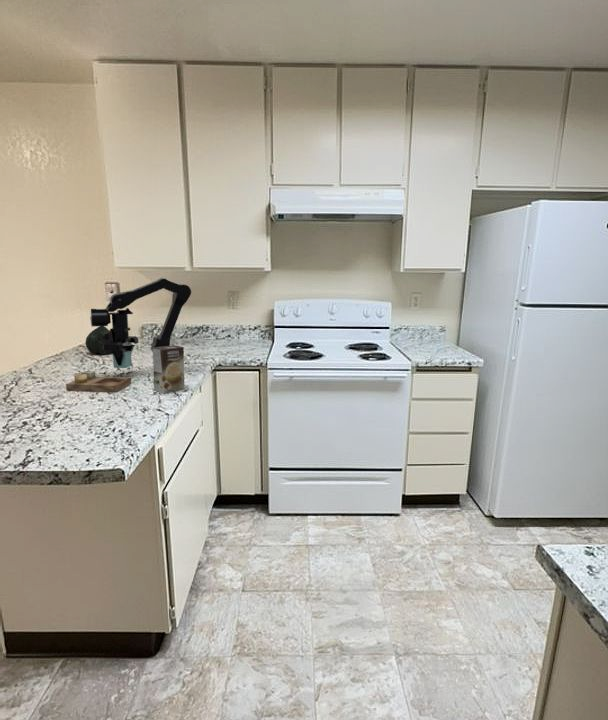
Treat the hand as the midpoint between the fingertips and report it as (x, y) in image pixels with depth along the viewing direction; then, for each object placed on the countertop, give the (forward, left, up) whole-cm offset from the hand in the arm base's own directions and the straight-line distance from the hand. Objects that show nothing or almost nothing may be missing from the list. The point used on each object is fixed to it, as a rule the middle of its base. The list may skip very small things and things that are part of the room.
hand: (122, 363), depth 164 cm
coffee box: (-24, +15, -6) cm, 29 cm away
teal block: (0, 0, -1) cm, 1 cm away
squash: (+33, -47, -6) cm, 58 cm away
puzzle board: (+2, +15, -6) cm, 16 cm away
